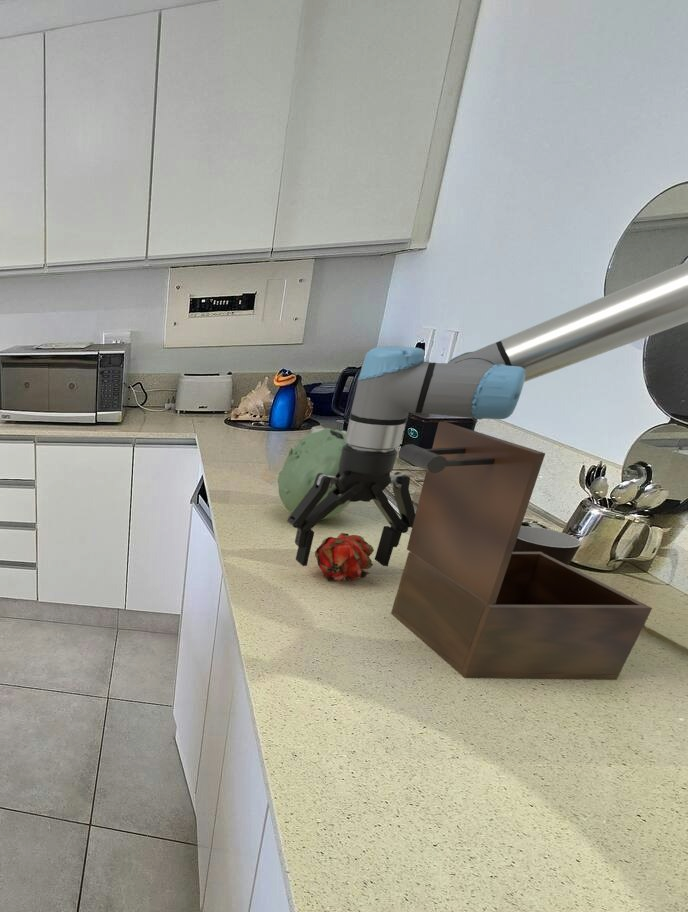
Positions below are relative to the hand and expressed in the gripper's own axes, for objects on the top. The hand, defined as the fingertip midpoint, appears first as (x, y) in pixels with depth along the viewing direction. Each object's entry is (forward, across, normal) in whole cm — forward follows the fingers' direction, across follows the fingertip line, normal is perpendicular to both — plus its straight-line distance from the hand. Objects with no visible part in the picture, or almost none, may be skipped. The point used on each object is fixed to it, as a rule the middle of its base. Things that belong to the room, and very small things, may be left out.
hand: (340, 562), depth 103 cm
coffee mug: (+3, -26, +4) cm, 27 cm away
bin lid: (-18, -2, +21) cm, 28 cm away
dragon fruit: (+3, 0, 0) cm, 3 cm away
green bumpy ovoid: (+3, -8, -29) cm, 30 cm away
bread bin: (+3, -11, +21) cm, 24 cm away
